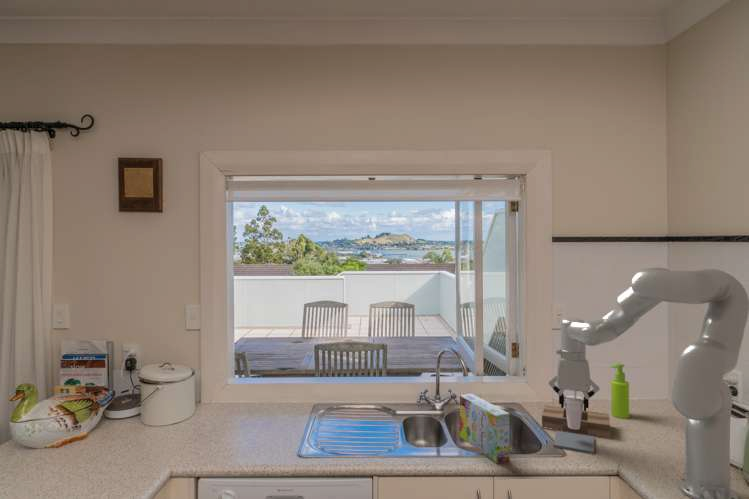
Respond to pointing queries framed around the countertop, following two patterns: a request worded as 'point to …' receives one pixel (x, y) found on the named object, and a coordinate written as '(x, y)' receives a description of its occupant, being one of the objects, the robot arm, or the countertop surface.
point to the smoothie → (573, 410)
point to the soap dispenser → (620, 393)
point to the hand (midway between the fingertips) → (573, 407)
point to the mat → (574, 442)
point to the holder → (589, 424)
